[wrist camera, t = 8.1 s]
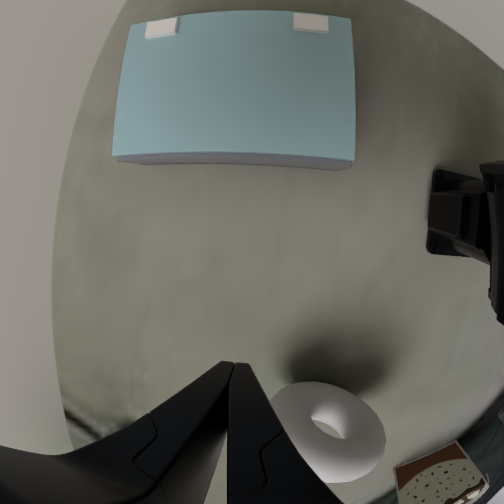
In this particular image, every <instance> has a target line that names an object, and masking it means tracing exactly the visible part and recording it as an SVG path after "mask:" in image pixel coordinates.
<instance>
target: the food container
mask: <svg viewBox="0 0 504 504" xmlns="http://www.w3.org/2000/svg"><path fill="white" fill-rule="evenodd" d="M393 471H394V477H395V483H396V489H397V495H398V502H399V504H472V503H473V502H475V501H476V500H477V499H478V498H479V497H480V496H481V495H482V494H483V493H484V492H485V491H486V490H487V489H488V488H489V484H488V483H489V478H488V474H486V475H485V477H483V475H482V474H481V472H480V471H479V470H478V468H477V467H476V466H475V464H474V463H473V462H472V460H471V459H470V458H469V456H468V455H467V454H466V452H465V451H464V450H463V448H462V447H461V446H460V444H459V443H458V442H457V441H456V440H455V441H453V442H451V443H449V444H447V445H445V446H443V447H441V448H439V449H437V450H435V451H432V452H430V453H428V454H426V455H423V456H421V457H419V458H416V459H414V460H411V461H409V462H406V463H404V464H401V465H398V466H396V467H393Z"/></svg>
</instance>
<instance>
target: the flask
mask: <svg viewBox="0 0 504 504" xmlns="http://www.w3.org/2000/svg"><path fill="white" fill-rule="evenodd" d="M498 417H499V418H500V420H501V421H502V422H503V424H504V405H503V406H502V407H501V409H500V410H499V412H498Z"/></svg>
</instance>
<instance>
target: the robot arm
mask: <svg viewBox="0 0 504 504" xmlns="http://www.w3.org/2000/svg"><path fill="white" fill-rule="evenodd" d="M479 167H480V172H481V173H482V176H483V180H481V179H477V178H474V177H470V176H466V175H462V174H458V173H454V172H450V171H446V170H441V169H438V170H435V171H434V172H433V180H432V194H431V195H430V208H429V219H428V228H429V230H428V238H427V245H426V249H427V251H428V252H429V253H431V254H437V255H450V256H462V257H472V258H474V259H477V260H479V261H481V262H484V263H486V264H488V265H490V288H489V289H488V297H489V299H490V300H491V306H492V308H493V309H494V311H495V313H496V314H497V318H496V319H497V321H498V322H499V323H501V324H502V325H503V326H504V160H502V161H495V162H488V163H482V164H479ZM438 173H439V174H440V179H439V178H438ZM432 245H434V248H433V249H432V250H431V247H432ZM226 434H227V504H344V503H343V502H342V501H341V500H340V499H339V498H338V497H337V496H336V495H335V494H334V493H333V492H332V491H331V490H330V489H329V487H328V486H327V485H326V484H325V483H324V482H323V481H322V480H321V479H320V477H319V476H318V475H317V474H316V473H315V472H314V471H313V469H312V468H311V467H310V466H309V465H308V463H307V462H306V461H305V460H304V458H303V457H302V456H301V455H300V453H299V452H298V450H297V449H296V447H295V445H294V444H293V442H292V441H291V439H290V437H289V436H288V434H287V432H285V429H284V427H283V425H282V424H281V422H280V420H279V418H278V416H277V415H276V413H275V411H274V409H273V407H272V406H271V404H270V402H269V400H268V398H267V396H266V394H265V393H264V391H263V389H262V387H261V385H260V383H259V381H258V379H257V378H256V376H255V374H254V372H253V370H252V368H251V366H250V364H248V363H238V362H237V363H234V362H228V361H220V362H219V363H218V364H216V365H215V366H214V367H212V368H211V369H210V370H208V371H207V372H206V373H204V374H203V375H201V376H200V377H199V378H197V379H196V380H195V381H193V382H192V383H190V384H189V385H188V386H186V387H185V388H183V389H182V390H181V391H179V392H178V393H176V394H175V395H173V396H172V397H171V398H169V399H168V400H166V401H165V402H163V403H162V404H160V405H159V406H158V407H156V408H155V409H153V410H152V411H150V413H147V414H145V415H144V416H142V417H141V418H139V419H138V420H136V421H134V422H133V423H131V424H129V425H128V426H126V427H124V428H122V429H120V430H119V431H117V432H115V433H113V434H111V435H109V436H106V437H104V438H102V439H100V440H98V441H95V442H93V443H91V444H88V445H86V446H84V447H81V448H79V449H77V450H74V451H72V452H69V453H65V454H61V455H44V454H38V453H32V452H26V451H22V450H17V449H13V448H9V447H5V446H1V445H0V504H204V501H205V498H206V495H207V492H208V489H209V486H210V483H211V480H212V477H213V474H214V471H215V468H216V465H217V462H218V459H219V456H220V453H221V450H222V447H223V444H224V441H225V438H226Z"/></svg>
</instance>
